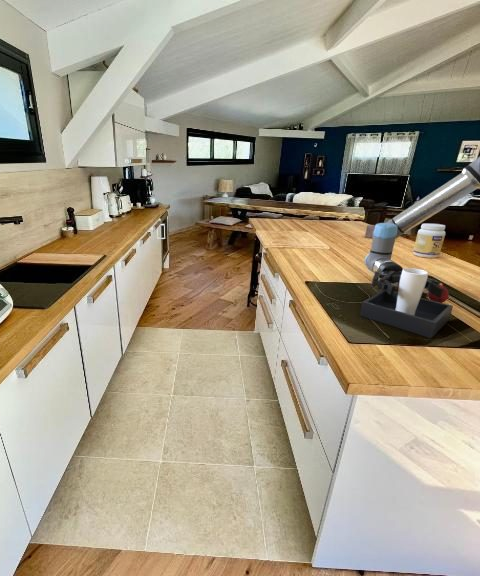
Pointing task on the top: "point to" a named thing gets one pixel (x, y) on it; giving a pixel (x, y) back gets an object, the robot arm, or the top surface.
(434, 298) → the onion
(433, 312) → the dark grey tray
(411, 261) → the top surface
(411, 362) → the top surface
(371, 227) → the food item
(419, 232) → the supplement tub
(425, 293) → the small square dish
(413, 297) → the drinking glass
